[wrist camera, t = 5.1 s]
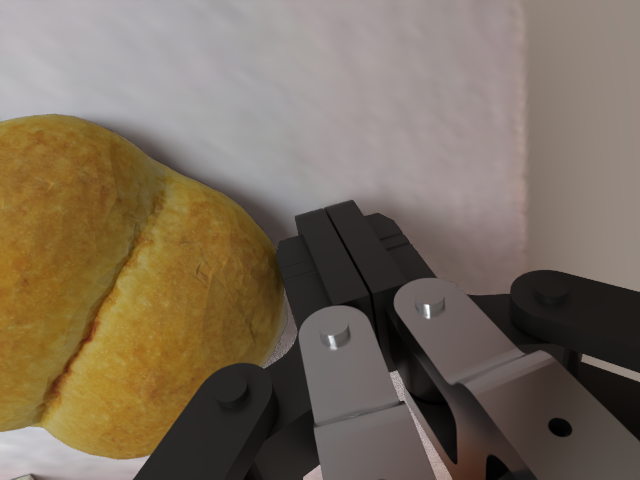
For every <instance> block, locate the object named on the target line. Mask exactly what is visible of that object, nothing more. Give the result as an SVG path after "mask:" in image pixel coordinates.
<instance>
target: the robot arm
mask: <svg viewBox="0 0 640 480" xmlns="http://www.w3.org/2000/svg"><path fill="white" fill-rule="evenodd" d="M295 222H296V226H297V230H298V234H299V236H296V237H293V238H289V239H286V240H282V241H280V243H279V246H278V249H277V252H276V258H277V262H278V265H279V269H280V273H281V276H282V280H283V283H284V287H285V290H286V294H287V297H288V301H289V304H290V307H291V311H292V314H293V317H294V320H295V324H296V327H297V330H298V333H297V337H296V340H295V342H294V344H293V346H292V347H291V349H290V350H289V351H288V352H287V353H286V354H285V355H284V356H283V357H282V358H280V359H279V360H277V361H276V362H274V363H273V364H271V365H270V366H268V367H266V368H265V369H263V368H262V367H260V366H258V365H255V364H252V363H236V364H232V365H228V366H226V367H223V368H221V369H219V370H217V371H216V372H214V373H213V374H212V375H210V376H209V377H208V378H207V379H206V380H205V381H204V382H203V384H202V385H201V386H200V387H199V389H198V390H197V392H196V393H195V394H194V396H193V397H192V399H191V400H190V401H189V403H188V404H187V406H186V407H185V408H184V410H183V411H182V412H181V414H180V415H179V417H178V418H177V419H176V421H175V422H174V424H173V425H172V426H171V428H170V429H169V431H168V432H167V433H166V435H165V436H164V437H163V439H162V440H161V442H160V443H159V444H158V446H157V447H156V449H155V450H154V451H153V453H152V454H151V456H150V457H149V458H148V460H147V461H146V462H145V464H144V465H143V467H142V468H141V469H140V471H139V472H138V474H137V475H136V476H135V478H134V479H133V480H303V477H304V476H305V475H306V474H308V473H309V472H310V471H312V470H313V469H314V468H316V467H317V466H318V465H320V466H321V471H322V477H323V480H437V479H436V477H435V474H434V472H433V469H432V467H431V464H430V461H429V459H428V456H427V454H426V451H425V449H424V446H423V443H422V441H421V438H420V436H419V433H418V431H417V428H416V426H415V423H414V420H413V418H412V415H411V413H410V411H409V408H408V406H407V405H406V403H405V402H404V401H400V400H399V398H398V395H397V393H396V390H395V387H394V385H393V382H392V379H391V377H390V374H389V372H393V371H396V370H397V371H398V373H399V375H400V377H401V379H402V380H403V386H404V395H405V399H406V401H407V403H408V405H409V406H410V408H411V410H412V411H413V413H414V415H415V416H416V418H417V420H418V421H419V423H420V425H421V426H422V428H423V430H424V431H425V433H426V435H427V436H428V438H429V440H430V441H431V443H432V445H433V446H434V448H435V450H436V451H437V453H438V455H439V456H440V458H441V460H442V461H443V463H444V465H445V466H446V468H447V470H448V471H449V473H450V475H451V477H452V479H453V480H640V382H638V381H635V380H632V379H629V378H627V377H624V376H621V375H618V374H615V373H612V372H609V371H607V370H604V369H601V368H598V367H595V366H592V365H589V364H587V363H584V362H581V359H582V354H585V355H588V356H592V357H594V358H597V359H600V360H603V361H606V362H609V363H612V364H615V365H618V366H621V367H624V368H627V369H630V370H632V371H635V372H638V373H640V292H637V291H633V290H629V289H626V288H622V287H618V286H614V285H610V284H606V283H602V282H598V281H594V280H591V279H586V278H583V277H579V276H575V275H571V274H567V273H563V272H559V271H552V270H538V271H532V272H528V273H525V274H523V275H521V276H519V277H518V278H517V279H516V280H515V281H514V282H513V284H512V286H511V291H510V294H498V295H468V294H465V292H464V291H463V290H462V289H461V288H459V287H458V286H457V285H455V284H454V283H452V282H450V281H447V280H444V279H438V278H437V277H436V276H435V275H434V273H433V272H432V271H431V269H430V268H429V267H428V265H427V264H426V263H425V261H424V260H423V259H422V257H421V256H420V255H419V253H418V252H417V251H416V250H415V248H414V247H413V246H412V244H411V245H410V242H409V240H408V239H407V238H406V236H405V235H403V233H402V231H401V230H400V228H399V227H398V226H397V224H396V223H395V222H394V221H393V220H391V219H389V218H387V217H386V216H384V215H382V214H380V213H375V214H372V215H368V216H365V217H364V215H363V214H362V212H361V211H360V209H359V208H358V206H357V205H356V203H355V202H354V201H353V200H349V201H346V202H342V203H339V204H335V205H332V206H328V207H325V208H324V209H323V208H322V209H318V210H315V211H311V212H308V213H304V214H300V215H297V216H295Z"/></svg>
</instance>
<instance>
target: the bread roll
mask: <svg viewBox="0 0 640 480" xmlns="http://www.w3.org/2000/svg"><path fill="white" fill-rule="evenodd" d="M276 252H277V250H276V247H275V246H274V244H273V243H272V241H271V240H270V239H269V237H268V236H267V234H266V233H265V232H264V231H263V230H262V229H261V228H260V227H259V225H258V224H257V223H256V222H255V221H254V220H253V219H252V218H251V216H250V215H249V214H248V213H247V212H246V211H245V210H244V209H243V208H242V207H241V206H240V205H238V204H237V203H236V202H234V201H233V200H232V199H230V198H229V197H228V196H226V195H225V194H223V193H221V192H219V191H217V190H214V189H212V188H210V187H208V186H206V185H204V184H202V183H200V182H198V181H196V180H194V179H191V178H188V177H186V176H183V175H181V174H179V173H178V172H176V171H174V170H172V169H170V168H169V167H167V166H165V165H163V164H161V163H159V162H157V161H155V160H153V159H152V158H151V157H149V156H148V155H146V154H145V153H144V152H143V151H142V150H141V149H140V148H139V147H138V146H136V145H134V144H133V143H131V142H130V141H128V140H126V139H125V138H123V137H122V136H120V135H118V134H116V133H114V132H112V131H110V130H108V129H106V128H103V127H101V126H99V125H97V124H95V123H92V122H89V121H87V120H84V119H81V118H78V117H74V116H66V115H58V114H47V115H34V116H27V117H21V118H15V119H10V120H6V121H2V122H0V432H4V431H10V430H16V429H21V428H25V427H28V426H33V427H42V428H44V429H45V430H47V431H48V432H49V433H50V434H51V435H53V436H54V437H55V438H57V439H58V440H60V441H61V442H63V443H65V444H66V445H68V446H70V447H71V448H74V449H77V450H80V451H82V452H85V453H88V454H91V455H96V456H103V457H108V458H113V459H132V458H140V457H145V456H148V455H151V454H152V453H153V451H154V450H155V449H156V447H157V446H158V444H159V443H160V442H161V440H162V439H163V437H164V436H165V435H166V433H167V432H168V431H169V429H170V428H171V426H172V425H173V424H174V422H175V421H176V419H177V418H178V417H179V415H180V414H181V412H182V411H183V410H184V408H185V407H186V406H187V404H188V403H189V401H190V400H191V399H192V397H193V396H194V394H195V393H196V392H197V390H198V389H199V387H200V386H201V385H202V384H203V382H204V381H205V380H206V379H207V378H208V377H209V376H210V375H212V374H213V373H214V372H216V371H217V370H219V369H221V368H223V367H226V366H228V365H232V364H236V363H252V364H255V365H258V366H260V367H262V366H263V365H264V364H265V363H266V362H267V361H268V360H269V358H270V357H271V355H272V353H273V352H274V350H275V348H276V345H277V344H278V343H279V341H280V338H281V336H282V334H283V332H284V329H285V327H286V324H287V320H288V311H287V305H286V302H285V299H284V296H283V294H284V283H283V280H282V276H281V273H280V269H279V265H278V262H277V258H276Z"/></svg>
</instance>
